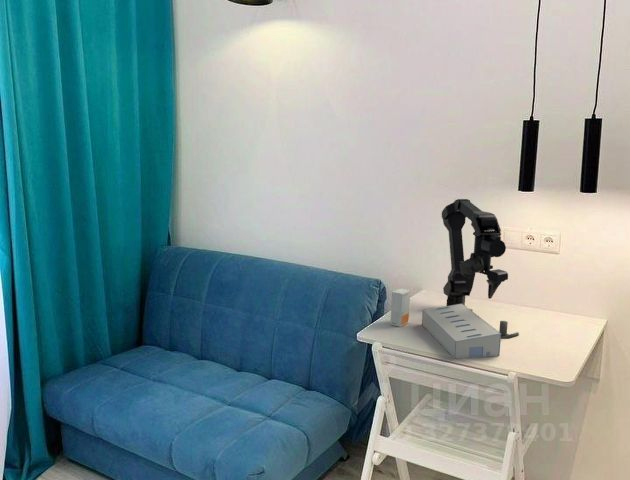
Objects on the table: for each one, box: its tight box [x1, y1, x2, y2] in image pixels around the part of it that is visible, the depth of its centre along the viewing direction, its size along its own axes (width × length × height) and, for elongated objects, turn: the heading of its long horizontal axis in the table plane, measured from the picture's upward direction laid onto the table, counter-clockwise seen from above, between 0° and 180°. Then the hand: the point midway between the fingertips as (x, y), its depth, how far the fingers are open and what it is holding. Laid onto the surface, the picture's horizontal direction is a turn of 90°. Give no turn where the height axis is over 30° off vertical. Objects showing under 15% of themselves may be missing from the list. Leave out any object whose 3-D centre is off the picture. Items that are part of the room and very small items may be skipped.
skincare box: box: [390, 287, 411, 328], centre depth 209 cm, size 6×4×12 cm
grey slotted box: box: [421, 304, 502, 359], centre depth 196 cm, size 30×14×8 cm, turn 9°
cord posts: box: [469, 308, 520, 339], centre depth 208 cm, size 8×24×5 cm, turn 34°
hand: (479, 295), depth 206 cm, fingers open, 9 cm apart
